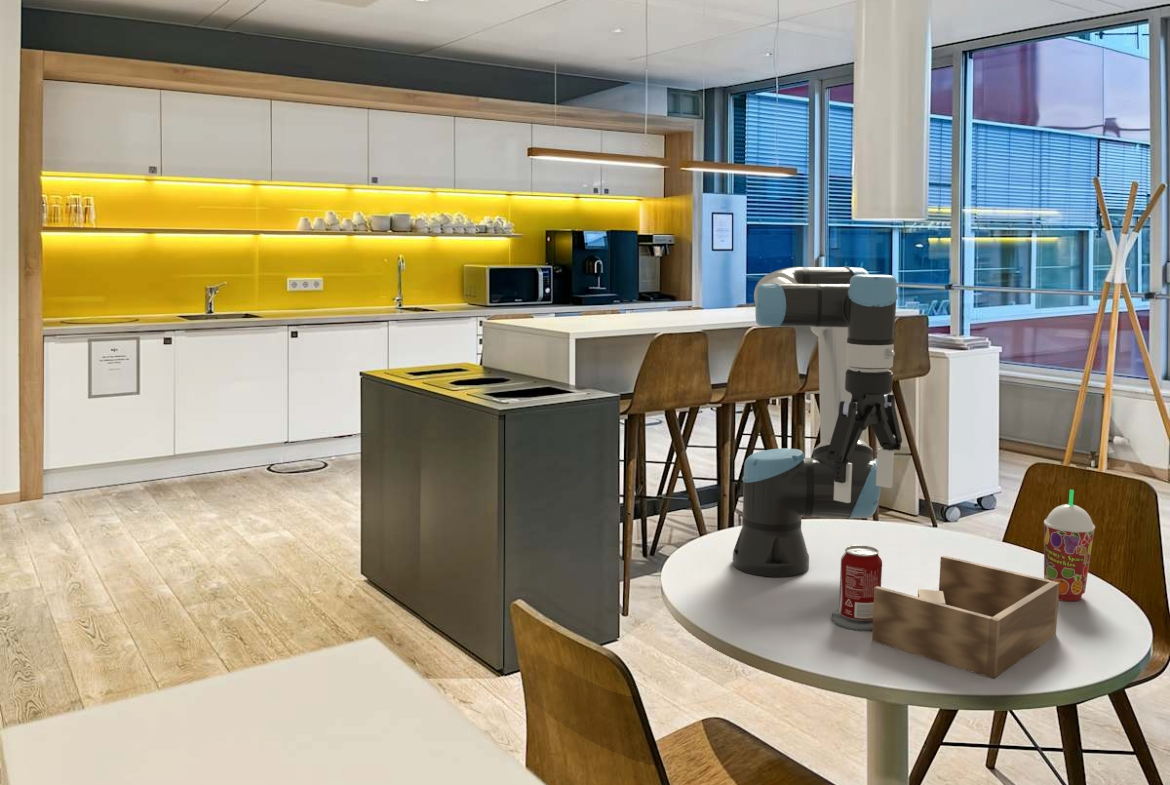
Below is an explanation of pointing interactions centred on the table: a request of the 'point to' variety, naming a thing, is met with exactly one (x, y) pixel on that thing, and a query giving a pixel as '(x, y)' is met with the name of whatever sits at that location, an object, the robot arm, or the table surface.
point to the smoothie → (1068, 549)
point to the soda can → (859, 582)
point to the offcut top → (932, 595)
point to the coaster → (850, 623)
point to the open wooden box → (970, 617)
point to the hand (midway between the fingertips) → (863, 493)
